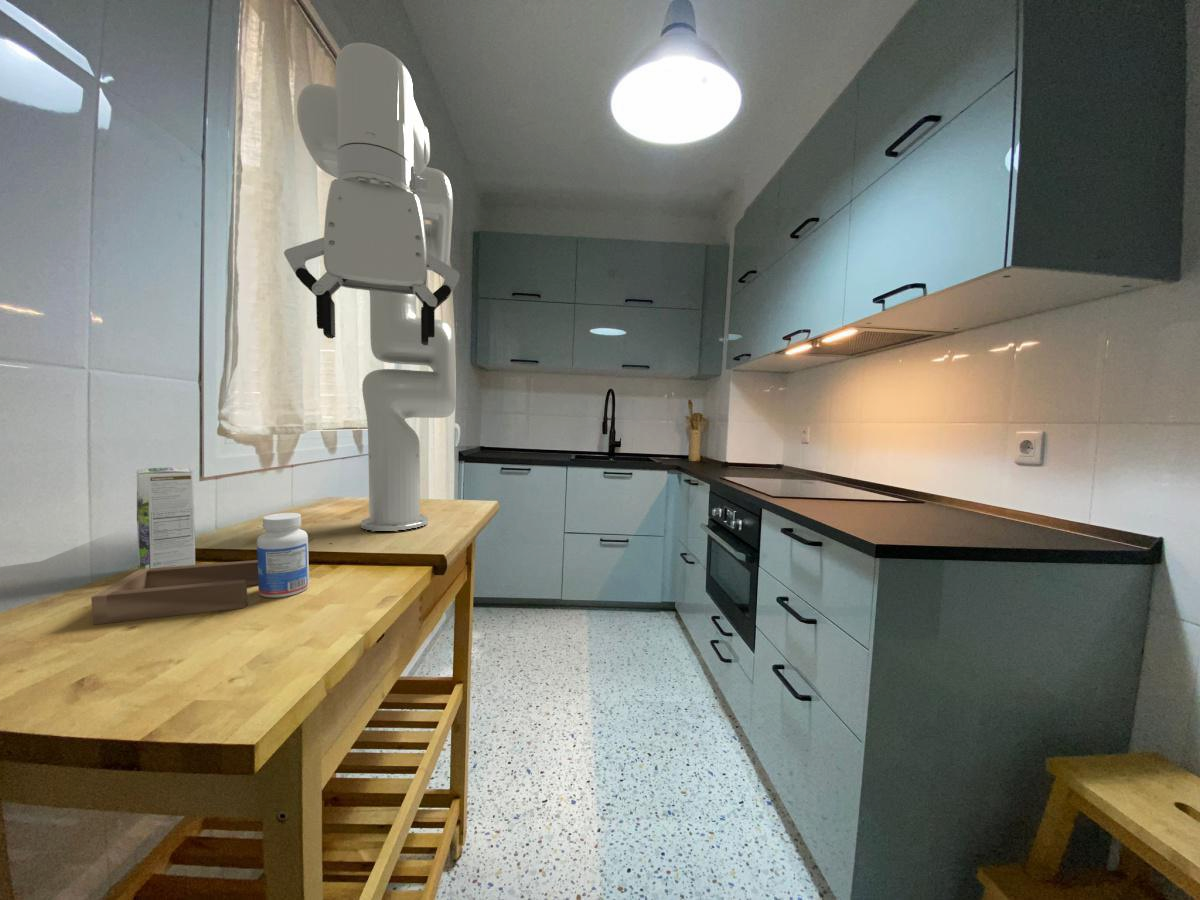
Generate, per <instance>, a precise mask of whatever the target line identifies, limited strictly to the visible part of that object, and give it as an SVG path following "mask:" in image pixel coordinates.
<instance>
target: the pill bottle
mask: <svg viewBox="0 0 1200 900" xmlns="http://www.w3.org/2000/svg"><path fill="white" fill-rule="evenodd" d="M301 526H302V516H301V514H300V513H298V512H280V513H274V514H273V513H272V514H269V515H266V516H263V517H262V528H263V530H264V533H262V534H260V535H259V536H258V537H257V539H256V558H257V559H256V560H258V585H257V586H258V593H259V595H260V596H261V597H264V598H269V599H270V598H276V599H277V598H286V597H291V596H293V595H296V594H300V593H302V592H305V590H307V589H308V588H309V587H310V565H309V561H310V560H309V535H308V533H307V532H306V531H305V530H303V529H300V527H301Z"/></svg>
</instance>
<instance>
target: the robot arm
mask: <svg viewBox="0 0 1200 900" xmlns="http://www.w3.org/2000/svg"><path fill="white" fill-rule="evenodd" d="M413 85H414V84H413V81H412V77H411V74H410V72H409V70H408V68H406V66H405V64H404V63H403V62H402V61H401V59H400V58H398V57H397V56H396V54H394V53H392V52H390V51H389V50H387V49H385V48H383V47H382V46H379V45H376V44H373V43H367V42H352V43H349V44H346V45H344V47H342V48H341V49H340V50H339V52H338V54H337V56H336V59H335V87H334V86H332V85H331V86H330V85H325V84H320V83H319V84H318V83H313V84H312V83H311V84H309V85H306V86H305V87H304V88H303V89H302V90H301V92H300V93H299V96H298V98H297V99H298V100H297V105H296V113H297V123H298V127H299V131H300V134H301V137H302V140H303V143H304V145H305V147H306V149H307V151H308V153H309V154H310V156H311V157H312V160H313V161H314V163H315V164H316V165H317V167H319V169H320V170H322V172H325V173H326V174H328V175H330V176H331V177H333V178H335V179H333V180H332V181H331V183H330V185H329V186H330V187H329V190H328V196H327V200H326V207H325V218H324V230H323V231H324V232H323V237H321V238H317V239H313V240H311V241H308V242H305V243H302V244H299V245H296V246H293V247H289V248H287V249H285V250H284V251H283V255H284V257H285V258H286V260H287V262H288V264H289V266H290V267H291V269H292V271H293V272H294V273H295V276H296V277H297V279H299V280H298V281H300V282H301V283H302V284H303V285H304V286H305V287H306V288H307V289H308V290H309V291H310V292H311V293H312V294H313V295H314V296H315V301H316V302H315V303H316V306H315V307H316V327H317V329H321V330H322V331H323V332H322V333H323V335H324V337H326V338H327V339H334V338H335V337H336V313H335V312H336V309H335V308H336V306H335V305H336V304H335V302H334V300H333V297H332V296H333V295H334V294H335V293H337V291H338V290H339V289H340V288H347V289H354V290H361V291H369V323H370V324H369V327H370V329H369V330H370V331H369V332H370V333H369V334H370V335H369V336H370V348H371V352H372V354H373V356H374V357H375V358H376V360H379V362H382V363H389V364H397V365H398V364H399V365H412V366H413V365H414V366H428V367H430V369H431V371H429V370H413V369H411V370H410V369H398V368H396V369H395V368H381V369H376V370H372V371H371V372H368V374H366V375H365V376H364V379H363V381H362V385H361V386H362V387H361V389H362V397H363V404H364V408H365V414H366V421H367V422H366V423H367V439H368V440H367V441H368V442H367V448H368V455H367V456H368V503H369V504H368V507H369V509H368V512H369V514H368V515H369V517H366V518H364V519H363V520H361V521H360V528H361V529H362V528H363V529H362V530H364V529H366V530H365V531H367V530H371V531H370V532H375V531H395V530H404V529H411V528H416V529H418V528H417V527H420V526H423V527H424V525H425V526H426V525H428V523H429V518H428V516H427V515H424V514H421V468H420V467H421V464H420V462H421V460H420V459H421V458H420V456H421V454H420V447H421V446H420V439H419V436H418V434H417V432H416V431H415V430H414V429H413V428H412V427H411V426H410V425H409V424H408V423H407V421H406V419H411V418H419V419H420V418H421V419H423V418H425V419H426V418H427V419H433V418H435V419H437V418H438V419H440V418H441V419H442V418H447V417H450V416H451V415H452V414H453V413H454V411H455V408H456V402H457V401H456V399H457V398H456V397H457V396H456V395H457V391H456V390H457V389H456V388H457V386H456V385H457V384H456V383H457V382H456V347H455V336H454V332H453V330H452V327H451V326H450V325H449V323H447V322H446V321H443V320H440V319H436V317H435V315H436V314H435V312H436V311H435V310H437V308H438V307H439V306H441V305H442V304H443V303H444V302H446V301H447V300H448V299H449V298H450V295H451V294H452V293H453V291H454V289H455V287H456V286H457V284H458V282H459V280H460V276H461V275H460V274H461V273H459V271H457V270H456V269H455V268H452V267H451V266H450V265H448V263H449V261H450V257H451V246H452V245H451V244H452V243H451V242H452V241H451V240H452V226H453V213H454V212H453V211H454V210H453V209H454V197H453V196H454V195H453V190H452V185H451V182H450V179H449V178H448V176H447V175H446V173H444V171H442V170H440V169H437V168H433V167H428V166H427V165H428V164H429V162H430V157H431V143H430V142H431V141H430V135H429V130H428V128H427V126H426V125H425V124H424V121H423V118H422V116H421V114H420V112H419V109H418V107H417V104H416V101H415V99H414V90H413V89H414V88H413ZM425 220H426V221H430V222H431V223H425ZM321 256H323V265H324V270H325V271H326V272H325V273H323V274H322V276H321V277H320V278H319V279H317V278H316V277H315V276H314V275H312V274H311V273H310V271H309V269H308V268H307V266H306V262H307V261H310V260H313V259H315V258H319V257H321ZM428 271H432V272H434V273H435V274H437V275H438V276H440V277H442V278H443V283H442V284H441V286H440V287H439V288H438V289H436V290H435V291H433V292H432V290H431V289H429V286H427V278H428ZM417 300H419V302H420V303H421V304H422V306H421V308H420V317H418V315H417V305H416V304H417ZM420 528H421V527H420ZM411 530H412V529H411ZM395 532H396V531H395Z"/></svg>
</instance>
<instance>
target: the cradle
mask: <svg viewBox="0 0 1200 900" xmlns="http://www.w3.org/2000/svg"><path fill="white" fill-rule="evenodd" d="M248 586H258V559H253V560H240V561H229V562H217V563H205V564H204V563H203V564H201V563H200V564H195V565H188V566H175V567H163V568H150V569H139V568H138V570H136V571H134V572H132V573H131V574H129V575H127V576H126V577H124V578H122V579H120V580H118V581H117V582H115V583H113V584H111V585H110V586H108V587H106V588H105V589H102V590H100V591H99V592H97V593H95V594H94V595H93V596H91V598H90V599H91V614H92V616H91V617H92V625H101V624H102V625H103V624H110V623H118V622H128V621H136V620H146V619H147V620H148V619H155V618H163V617H173V616H182V615H192V614H200V613H210V612H218V611H227V610H236V609H244V608H246V606H247V605H248Z"/></svg>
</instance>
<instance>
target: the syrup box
mask: <svg viewBox="0 0 1200 900" xmlns="http://www.w3.org/2000/svg"><path fill="white" fill-rule="evenodd" d="M194 489H195V487H194V472H193V470H191V469H190V468H188V467H172V466H171V467H168V466H167V467H151V468H142V469H137V470H136V530H137V553H138V556H137V557H138V570H139V569H150V568H163V567H175V566H188V565H196V540H195V539H196V529H195V528H196V527H195V491H194Z"/></svg>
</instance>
